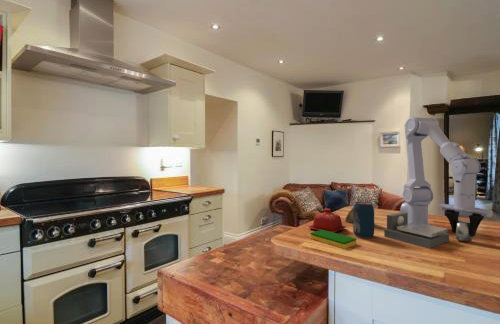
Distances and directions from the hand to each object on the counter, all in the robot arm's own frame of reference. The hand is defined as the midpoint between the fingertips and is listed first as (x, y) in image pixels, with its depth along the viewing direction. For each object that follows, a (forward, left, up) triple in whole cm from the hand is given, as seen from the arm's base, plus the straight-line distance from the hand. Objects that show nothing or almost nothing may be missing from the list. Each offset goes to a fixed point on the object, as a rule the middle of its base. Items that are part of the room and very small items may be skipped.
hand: (463, 234), depth 94 cm
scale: (-10, -11, -2) cm, 15 cm away
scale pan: (-9, -11, +1) cm, 14 cm away
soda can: (-22, -23, -3) cm, 32 cm away
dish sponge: (-24, -37, -3) cm, 44 cm away
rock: (-35, -8, -3) cm, 36 cm away
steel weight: (0, 0, -2) cm, 2 cm away
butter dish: (-35, -27, -3) cm, 45 cm away
